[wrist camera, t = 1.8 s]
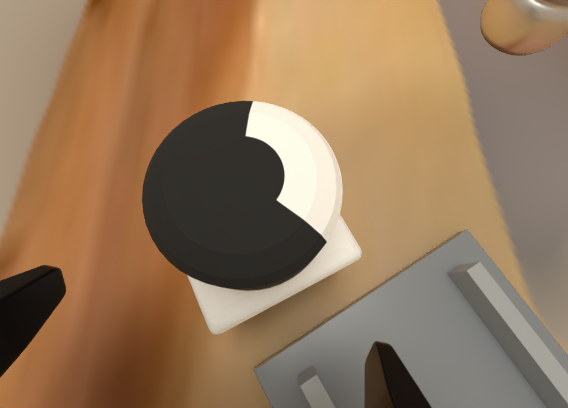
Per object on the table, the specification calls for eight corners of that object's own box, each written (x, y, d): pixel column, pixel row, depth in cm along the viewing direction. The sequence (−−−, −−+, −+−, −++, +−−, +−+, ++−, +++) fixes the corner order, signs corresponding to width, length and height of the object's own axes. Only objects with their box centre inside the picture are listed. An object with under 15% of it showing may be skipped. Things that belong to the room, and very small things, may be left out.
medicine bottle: (236, 323, 18) (162, 369, 7) (193, 223, 20) (78, 125, 9) (336, 270, 19) (419, 230, 8) (286, 179, 21) (293, 40, 10)
